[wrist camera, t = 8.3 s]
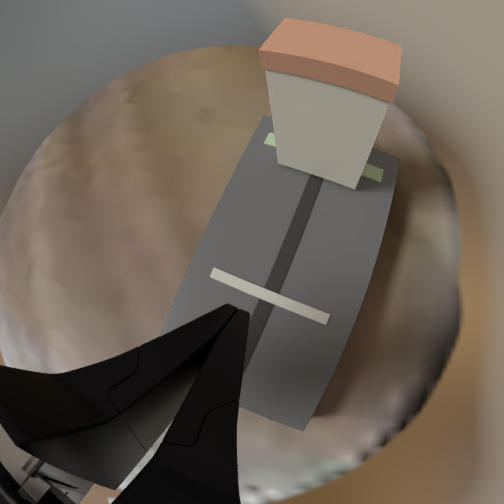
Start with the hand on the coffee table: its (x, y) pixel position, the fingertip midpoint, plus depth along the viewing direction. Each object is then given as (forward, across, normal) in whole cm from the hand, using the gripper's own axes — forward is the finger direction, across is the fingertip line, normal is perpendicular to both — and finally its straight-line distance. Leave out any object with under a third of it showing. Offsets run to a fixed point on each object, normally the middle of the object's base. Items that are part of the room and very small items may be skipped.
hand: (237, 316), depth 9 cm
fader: (+11, 0, -3) cm, 12 cm away
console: (+8, 0, +4) cm, 9 cm away
